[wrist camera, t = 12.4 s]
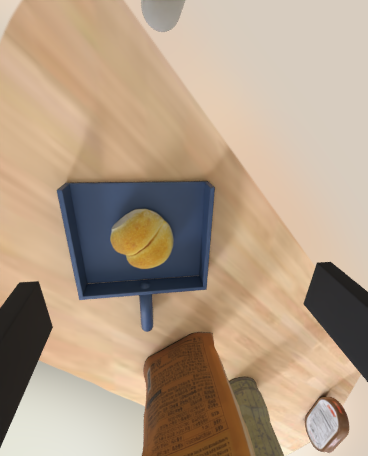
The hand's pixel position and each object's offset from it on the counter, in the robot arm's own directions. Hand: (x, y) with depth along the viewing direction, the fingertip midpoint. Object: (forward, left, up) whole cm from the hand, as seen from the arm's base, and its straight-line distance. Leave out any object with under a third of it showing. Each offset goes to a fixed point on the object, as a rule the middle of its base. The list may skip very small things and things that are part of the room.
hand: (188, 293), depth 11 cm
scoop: (+13, -3, -23) cm, 27 cm away
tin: (+64, +42, -24) cm, 80 cm away
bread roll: (+8, -3, -23) cm, 25 cm away
